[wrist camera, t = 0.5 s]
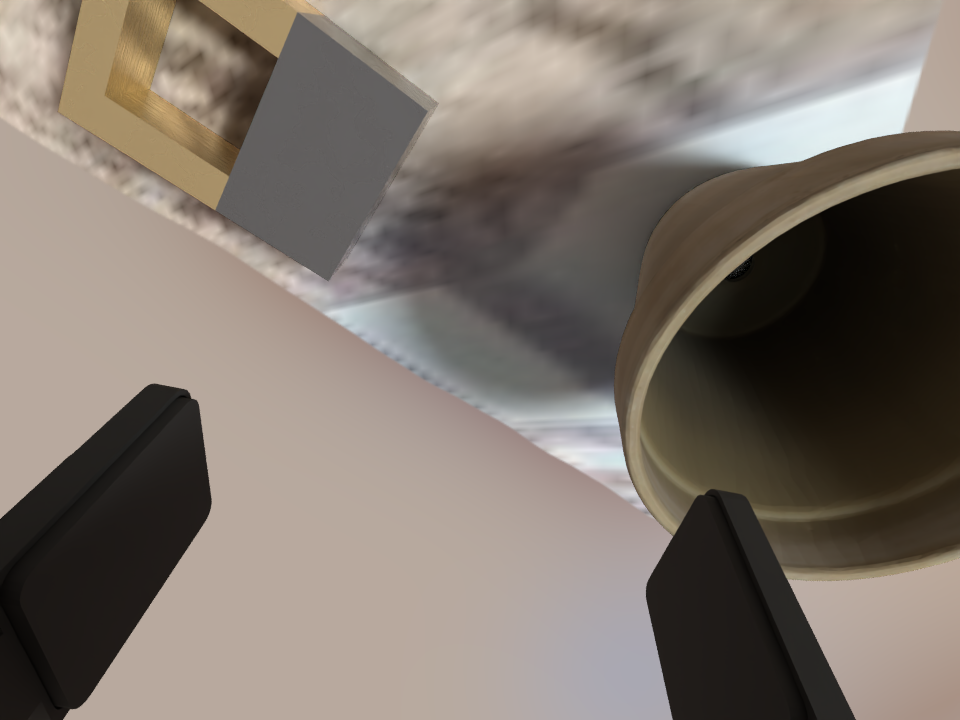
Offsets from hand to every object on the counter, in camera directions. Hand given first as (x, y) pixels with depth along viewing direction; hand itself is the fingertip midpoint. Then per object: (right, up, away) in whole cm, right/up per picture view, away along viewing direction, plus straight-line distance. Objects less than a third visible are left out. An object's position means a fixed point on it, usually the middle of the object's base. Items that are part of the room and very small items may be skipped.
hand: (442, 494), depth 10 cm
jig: (-15, +22, +29) cm, 40 cm away
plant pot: (+22, +11, +33) cm, 41 cm away
